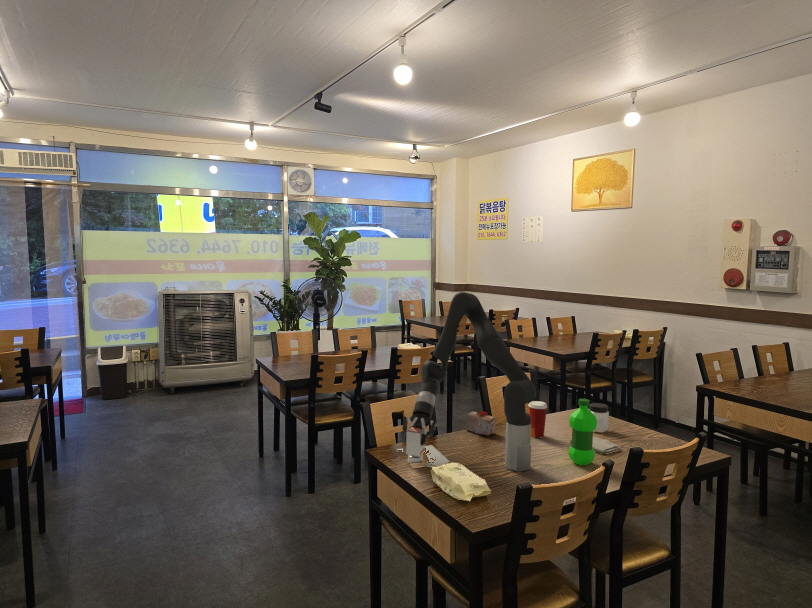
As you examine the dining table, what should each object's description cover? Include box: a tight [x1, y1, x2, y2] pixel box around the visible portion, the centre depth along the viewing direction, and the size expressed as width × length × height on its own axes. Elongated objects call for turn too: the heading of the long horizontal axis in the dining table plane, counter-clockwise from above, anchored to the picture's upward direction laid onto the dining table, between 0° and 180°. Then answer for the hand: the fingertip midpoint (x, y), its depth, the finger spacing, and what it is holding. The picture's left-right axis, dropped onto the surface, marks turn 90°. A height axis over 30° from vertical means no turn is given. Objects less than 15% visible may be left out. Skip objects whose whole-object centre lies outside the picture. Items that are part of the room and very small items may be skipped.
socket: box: [405, 426, 426, 456], centre depth 205 cm, size 6×6×10 cm
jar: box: [588, 402, 610, 433], centre depth 248 cm, size 9×8×12 cm
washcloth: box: [569, 435, 621, 455], centre depth 226 cm, size 12×18×3 cm, turn 35°
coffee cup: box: [528, 400, 548, 439], centre depth 238 cm, size 8×8×15 cm
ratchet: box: [402, 446, 423, 463], centre depth 209 cm, size 14×6×7 cm, turn 19°
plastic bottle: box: [568, 398, 597, 466], centre depth 206 cm, size 10×10×25 cm
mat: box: [396, 444, 451, 468], centre depth 211 cm, size 22×16×1 cm
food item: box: [465, 410, 498, 437], centre depth 242 cm, size 14×8×10 cm, turn 49°
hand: (414, 443), depth 204 cm, fingers closed on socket, 5 cm apart
